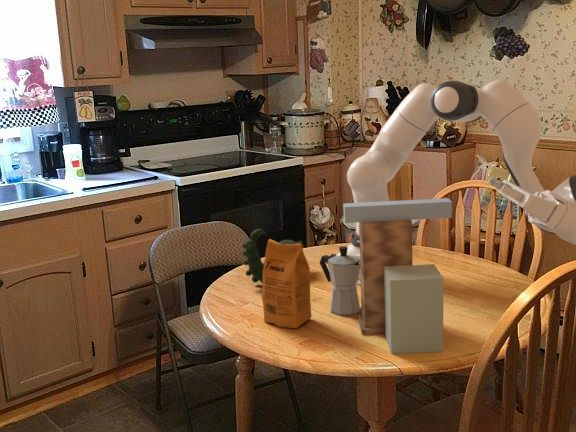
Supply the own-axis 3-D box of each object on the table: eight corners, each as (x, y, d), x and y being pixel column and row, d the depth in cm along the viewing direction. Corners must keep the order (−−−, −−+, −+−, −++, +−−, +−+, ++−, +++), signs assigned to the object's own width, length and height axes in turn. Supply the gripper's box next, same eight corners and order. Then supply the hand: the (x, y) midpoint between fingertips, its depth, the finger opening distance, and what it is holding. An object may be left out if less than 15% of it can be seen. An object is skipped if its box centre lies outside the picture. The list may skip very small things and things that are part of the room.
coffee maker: (373, 310, 178) (372, 247, 173) (352, 320, 172) (350, 255, 168) (332, 298, 188) (330, 238, 184) (311, 307, 182) (308, 245, 178)
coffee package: (280, 309, 182) (276, 233, 176) (317, 318, 174) (313, 239, 169) (257, 322, 174) (252, 243, 169) (294, 332, 167) (290, 249, 161)
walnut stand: (361, 334, 163) (358, 226, 156) (357, 317, 174) (354, 215, 167) (418, 331, 163) (417, 223, 156) (410, 314, 174) (409, 212, 167)
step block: (391, 353, 152) (390, 280, 148) (385, 335, 162) (384, 266, 157) (443, 351, 152) (443, 278, 147) (433, 333, 161) (434, 264, 157)
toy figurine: (264, 298, 196) (316, 267, 214) (256, 237, 190) (310, 211, 208) (241, 291, 202) (294, 262, 220) (232, 233, 196) (287, 208, 214)
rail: (345, 223, 160) (344, 207, 159) (343, 219, 164) (343, 203, 163) (451, 217, 159) (451, 201, 158) (447, 213, 163) (447, 198, 162)
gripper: (536, 189, 167) (489, 165, 166) (569, 207, 148) (516, 180, 146) (523, 210, 169) (476, 187, 167) (554, 231, 149) (502, 204, 147)
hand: (495, 183), depth 157 cm, fingers open, 8 cm apart
